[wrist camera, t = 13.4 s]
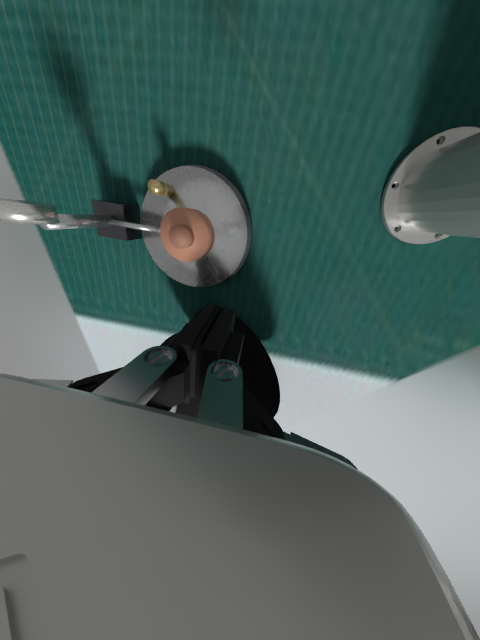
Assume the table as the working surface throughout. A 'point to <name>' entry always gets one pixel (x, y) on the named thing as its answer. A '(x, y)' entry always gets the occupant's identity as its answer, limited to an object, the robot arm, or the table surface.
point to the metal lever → (79, 218)
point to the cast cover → (187, 234)
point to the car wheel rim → (245, 371)
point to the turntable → (212, 200)
